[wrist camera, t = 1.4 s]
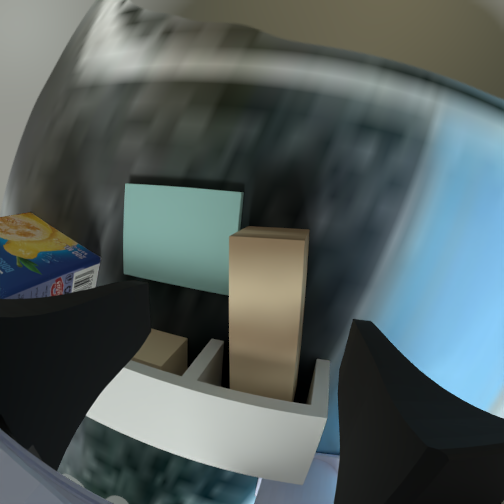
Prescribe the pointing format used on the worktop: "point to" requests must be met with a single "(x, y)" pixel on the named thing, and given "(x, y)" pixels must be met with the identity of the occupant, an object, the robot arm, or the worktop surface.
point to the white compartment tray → (212, 412)
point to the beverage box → (42, 260)
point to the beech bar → (266, 309)
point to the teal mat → (180, 235)
